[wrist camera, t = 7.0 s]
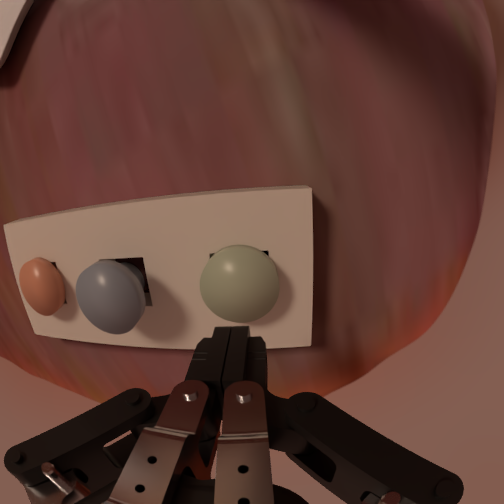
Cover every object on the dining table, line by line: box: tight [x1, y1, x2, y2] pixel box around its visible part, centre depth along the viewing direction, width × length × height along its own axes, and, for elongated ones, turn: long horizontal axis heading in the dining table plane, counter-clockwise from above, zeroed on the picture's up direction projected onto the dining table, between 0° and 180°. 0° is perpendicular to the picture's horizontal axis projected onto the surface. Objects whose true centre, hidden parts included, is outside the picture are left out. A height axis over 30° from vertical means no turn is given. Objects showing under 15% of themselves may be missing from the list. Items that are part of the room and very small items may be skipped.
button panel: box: [4, 185, 313, 349], centre depth 22 cm, size 28×12×2 cm, turn 94°
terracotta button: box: [19, 257, 65, 316], centre depth 21 cm, size 5×5×4 cm
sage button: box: [200, 245, 279, 323], centre depth 20 cm, size 5×5×4 cm
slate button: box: [76, 260, 146, 334], centre depth 19 cm, size 5×5×4 cm
